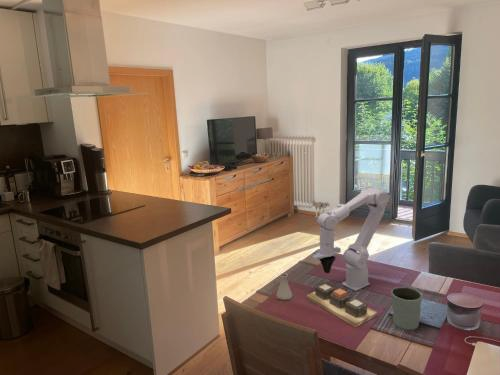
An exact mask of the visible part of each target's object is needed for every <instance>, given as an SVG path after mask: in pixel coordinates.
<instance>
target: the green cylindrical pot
mask: <svg viewBox="0 0 500 375" xmlns="http://www.w3.org/2000/svg"><path fill="white" fill-rule="evenodd" d="M390 294H391V304H392V305H391V306H392V321H393V324H394V325H395V326H396V327H398V328H399V329H402V330H406V331H414V330H417V329H418V327H419V324H420V317H421V307H422V300H423V294H422V293H421V291H419V290H418V289H417V288H414V287H411V286H410V287H409V286H396V287H394V288H392V290H391V293H390Z"/></svg>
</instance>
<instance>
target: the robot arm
mask: <svg viewBox="0 0 500 375" xmlns="http://www.w3.org/2000/svg"><path fill="white" fill-rule="evenodd" d="M389 201H390V198H389V196H388V193H387V192H386V190H380V189H377V188H373V187H371V186H366V187H365V188H363V189H361V190H360V193H359V194H357V195H356V196H355V197H353V198H352V199H350V200H349V201H348V202H347V203H345V204H343V203H338V204H336V206H335V207H334V208H332V209H331V210H328V211H327V212H322V213H320V214H319V215H318V217H317V219H316V223H317V225H318V228H319V249H318V252H317V253H315V254H313V255H312V256H311V257H312V262H313V261H314V262H318V260H319V261H320V263H321V266H322V269H323V272H324V273H325V274H330V273H331V269H332V266H333V263H334V262H335V260H336V256H335V255H336V254H340V253H341V247H338V246H336V247H335V228H336V227H337V226H338V224H339V223H340V222H341V221H343V220H344V219H345V218H347V217H349V215H350V213H351V211H353V210H355V209H357V208H359V207H361V206H363V205H365V204H366V205H367V206H368V209H369V212H368V215H367V217H366V219H365V221H364V223H363V225H362V227H361V229H360V231H359V232H358V233H359V234H358V235H357V237H356V239H355V242H354V243H351V244H349V245H348V246H347V249H345V250H344V252H343V254H342V259H343V261H344V262H345V265H346V268H345V269H346V270H345V277H346V278H345V281H344V282H342V283H341V285H343V286H345V287H347V288H349V289H350V290H353V291H355V292H357V291H358V290H359V291H360V289H363V288H366V286H367V287H368V286H369V285H370V282H369V269H368V266H367V265H368V259H369V256H370V254H369V252H368V247H369V245H370V243H371V241H372V239H373V237H374V234H375V232H376V230H377V228H378V226H379V224H380V223H381V220H382V218H383V216H384V214H385V209H386V207H387V204H388V203H389Z"/></svg>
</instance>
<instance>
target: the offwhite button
mask: <svg viewBox="0 0 500 375" xmlns="http://www.w3.org/2000/svg"><path fill="white" fill-rule="evenodd" d="M319 288H320V289H322V290H324V291H327V290H329V289H331V288H332V287H330V286H328V285H326V284H325V283H324V285H322V286H319Z"/></svg>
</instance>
